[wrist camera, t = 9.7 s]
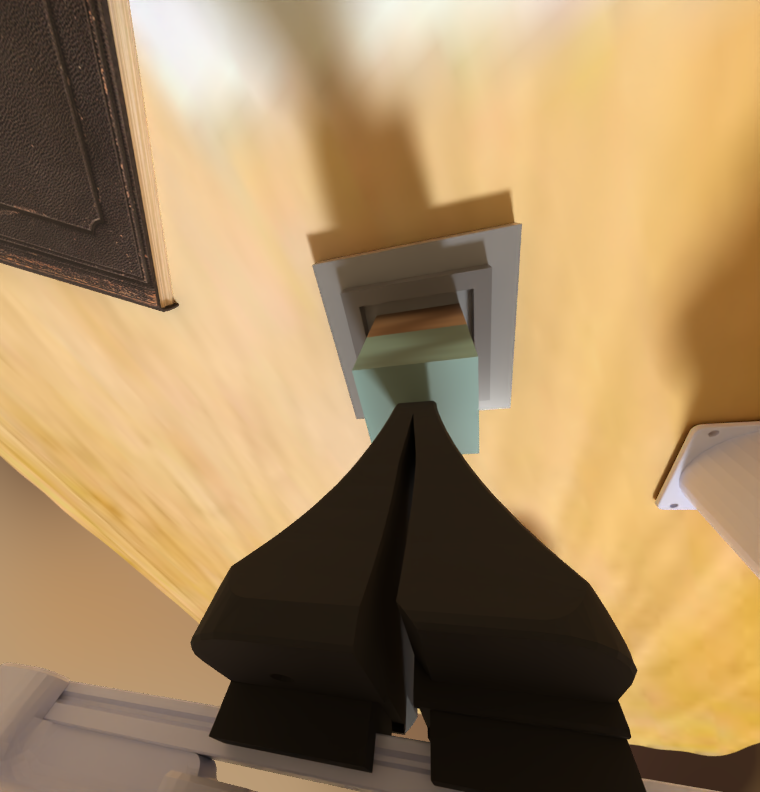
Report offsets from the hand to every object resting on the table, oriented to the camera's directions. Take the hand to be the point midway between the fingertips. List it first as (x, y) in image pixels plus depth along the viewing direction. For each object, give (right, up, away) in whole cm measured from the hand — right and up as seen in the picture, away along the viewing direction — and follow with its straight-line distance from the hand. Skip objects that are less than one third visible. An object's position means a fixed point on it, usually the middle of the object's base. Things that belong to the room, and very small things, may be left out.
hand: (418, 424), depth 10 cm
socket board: (+1, +5, +7) cm, 8 cm away
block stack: (+1, +4, +6) cm, 7 cm away
